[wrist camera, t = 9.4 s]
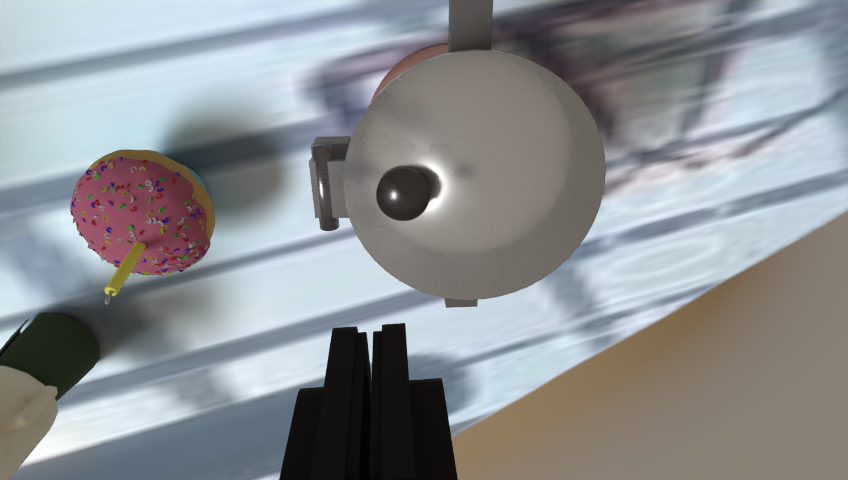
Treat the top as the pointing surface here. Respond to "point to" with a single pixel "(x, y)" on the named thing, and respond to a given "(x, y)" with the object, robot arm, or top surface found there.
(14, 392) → the character mug
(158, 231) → the cupcake
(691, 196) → the top surface
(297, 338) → the top surface
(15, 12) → the top surface
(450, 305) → the pot
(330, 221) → the lid
